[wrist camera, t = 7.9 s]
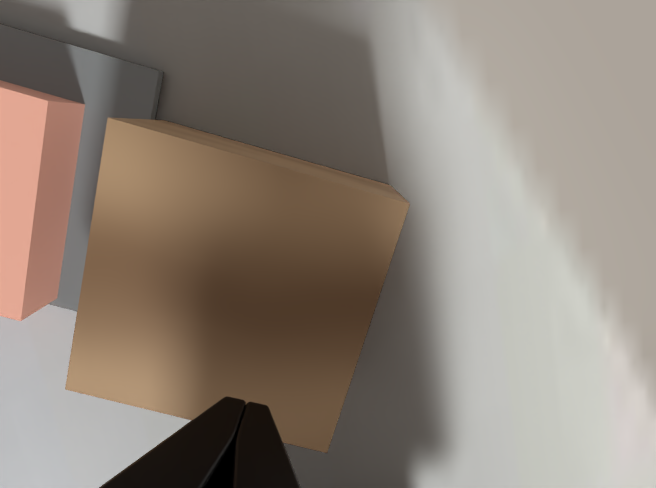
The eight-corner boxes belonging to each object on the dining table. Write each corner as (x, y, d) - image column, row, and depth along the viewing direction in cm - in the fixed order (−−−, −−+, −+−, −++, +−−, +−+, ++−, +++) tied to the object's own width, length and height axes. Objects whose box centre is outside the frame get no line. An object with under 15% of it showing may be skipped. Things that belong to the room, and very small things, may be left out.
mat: (119, 316, 17) (114, 320, 17) (-85, 264, 16) (-95, 267, 16) (163, 72, 15) (159, 70, 14) (-70, 3, 14) (-81, -1, 14)
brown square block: (327, 381, 18) (327, 453, 14) (124, 330, 17) (65, 389, 13) (390, 184, 16) (409, 203, 12) (163, 120, 15) (107, 117, 11)
